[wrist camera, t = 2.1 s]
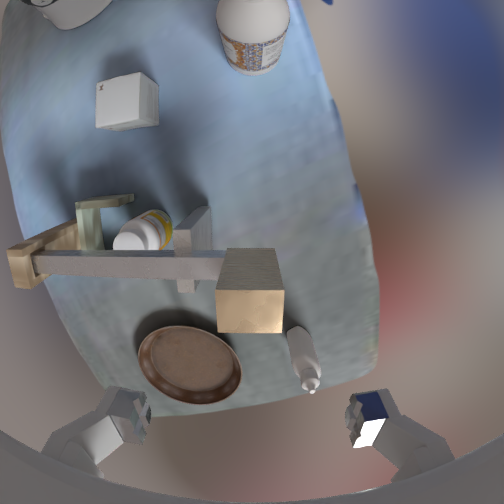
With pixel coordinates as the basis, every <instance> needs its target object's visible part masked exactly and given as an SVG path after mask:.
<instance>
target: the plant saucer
mask: <svg viewBox="0 0 504 504" xmlns="http://www.w3.org/2000/svg"><path fill="white" fill-rule="evenodd" d="M138 362H139V366H140V369H141V371H142V373H143V375H144V376H145V378H146V379H147V380H148V382H149V383H150V384H151V385H152V386H153V387H154V388H155V389H157V390H158V391H159V392H161V393H162V394H164V395H166V396H167V397H169V398H171V399H174V400H176V401H179V402H182V403H187V404H193V405H209V404H214V403H218V402H221V401H223V400H225V399H227V398H229V397H230V396H231V395H233V394H234V393H235V391H236V390H237V389H238V387H239V385H240V383H241V380H242V367H241V363H240V361H239V359H238V357H237V355H236V353H235V352H234V351H233V350H232V348H231V347H230V346H229V345H228V344H227V343H225V342H224V341H223V340H222V339H220V338H219V337H217V336H216V335H214V334H212V333H210V332H208V331H206V330H203V329H200V328H196V327H192V326H185V325H174V326H167V327H163V328H160V329H157V330H155V331H153V332H152V333H150V334H149V335H148V336H146V338H145V339H144V340H143V341H142V343H141V345H140V347H139V351H138Z"/></svg>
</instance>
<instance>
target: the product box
mask: <svg viewBox="0 0 504 504" xmlns="http://www.w3.org/2000/svg"><path fill="white" fill-rule="evenodd" d="M158 125H159V85H157V84H156V83H155V82H154V81H152V80H151V79H150V78H148V77H147V76H146V75H144V74H143V73H142V72H136V73H132V74H128V75H124V76H118V77H115V78H112V79H108V80H104V81H101V82H98V83H97V84H96V125H95V126H96V128H102V129H108V130H114V131H126V130H130V129H135V128H142V127H150V126H158Z"/></svg>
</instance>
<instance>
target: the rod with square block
mask: <svg viewBox="0 0 504 504" xmlns="http://www.w3.org/2000/svg"><path fill="white" fill-rule="evenodd" d="M173 243H174V250H37V251H35V252H33V253H31V254H30V257H31V261H32V266H33V270H34V273H42V274H58V275H75V276H95V277H117V278H144V279H177V285H178V292H182V293H195V291H196V289H197V286H198V284H199V282H200V280H218V282H217V285H216V289H215V296H216V312H217V327H218V332H219V333H282V322H283V306H284V286H283V282H282V277H281V273H280V269H279V264H278V260H277V256H276V251H275V248H227V250H213V246H212V218H211V206H201V207H198V208H197V209H195V210H194V211H193V212H192V213H191V214H190V215H189V216H187V217H186V218H185V219H184V220H183V221H182V222H181V223H180V224H178V225H177V226H176V227H175V228H174V229H173Z"/></svg>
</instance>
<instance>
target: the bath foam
mask: <svg viewBox="0 0 504 504" xmlns="http://www.w3.org/2000/svg"><path fill="white" fill-rule="evenodd" d="M289 21H290V11H289V6H288V3H287V1H286V0H220V1H219V3H218V6H217V10H216V22H217V25H218V29H219V32H220V36H221V39H222V43H223V47H224V50H225V54H226V57H227V60H228V62H229V64H230V65H231V67H232V68H233V69H234V70H236V71H237V72H239V73H241V74H244V75H249V76H257V75H262V74H265V73H267V72H269V71H271V70H272V69H273V68H274V67H275V66H276V65H277V63H278V61H279V58H280V55H281V51H282V47H283V44H284V40H285V36H286V32H287V29H288V25H289Z"/></svg>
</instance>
